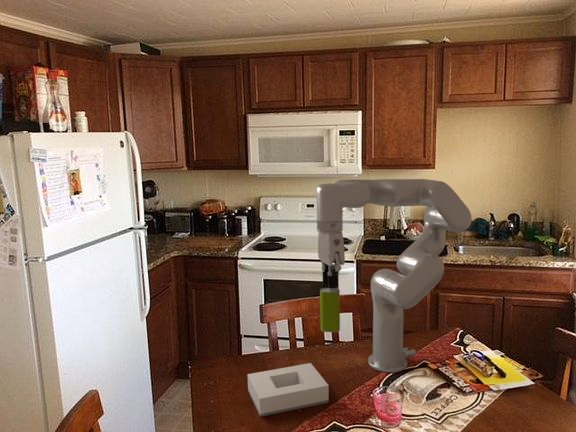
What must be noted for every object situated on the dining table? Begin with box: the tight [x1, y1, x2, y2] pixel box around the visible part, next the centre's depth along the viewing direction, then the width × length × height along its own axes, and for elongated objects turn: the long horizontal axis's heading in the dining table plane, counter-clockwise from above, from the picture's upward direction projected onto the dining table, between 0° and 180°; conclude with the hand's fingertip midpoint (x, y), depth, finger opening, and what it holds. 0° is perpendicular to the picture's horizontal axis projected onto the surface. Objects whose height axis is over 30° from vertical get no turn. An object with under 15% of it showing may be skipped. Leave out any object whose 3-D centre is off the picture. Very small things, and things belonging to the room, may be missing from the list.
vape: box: [319, 267, 341, 333], centre depth 145 cm, size 4×6×20 cm, turn 81°
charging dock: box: [247, 362, 330, 417], centre depth 139 cm, size 20×14×5 cm
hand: (330, 285), depth 144 cm, fingers closed on vape, 3 cm apart
